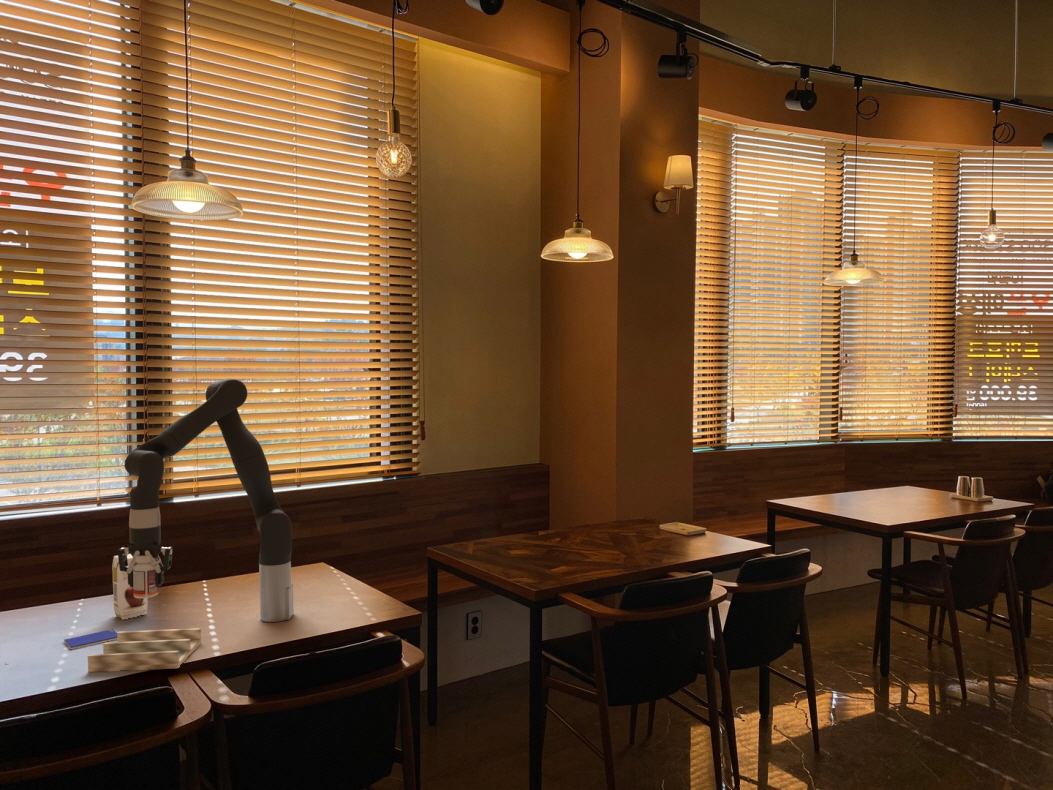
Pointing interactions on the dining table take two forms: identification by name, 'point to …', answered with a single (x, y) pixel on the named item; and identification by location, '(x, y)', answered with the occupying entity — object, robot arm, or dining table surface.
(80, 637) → the hard drive
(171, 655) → the slot rack
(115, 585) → the juice carton
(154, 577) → the pill bottle
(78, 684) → the dining table surface
